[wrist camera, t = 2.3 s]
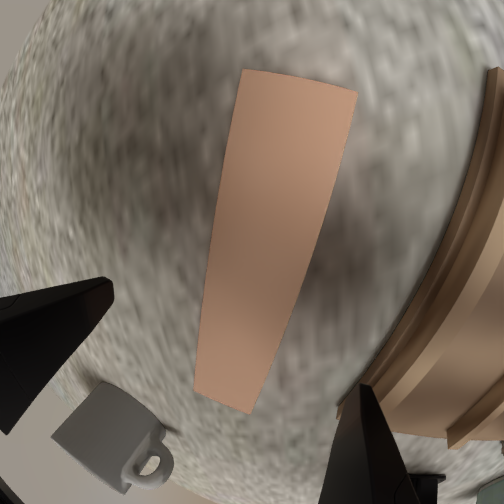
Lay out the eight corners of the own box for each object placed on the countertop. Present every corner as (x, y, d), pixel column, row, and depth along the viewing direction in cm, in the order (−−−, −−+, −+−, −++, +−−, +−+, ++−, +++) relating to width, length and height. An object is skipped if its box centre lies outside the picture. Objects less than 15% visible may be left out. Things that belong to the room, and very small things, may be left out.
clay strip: (265, 379, 17) (250, 414, 14) (214, 358, 17) (193, 390, 15) (355, 104, 9) (358, 92, 7) (268, 83, 10) (242, 68, 7)
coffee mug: (110, 412, 30) (71, 458, 21) (89, 369, 26) (36, 422, 17) (195, 457, 27) (159, 516, 18) (190, 424, 22) (139, 502, 14)
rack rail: (364, 416, 14) (362, 437, 12) (350, 413, 14) (347, 434, 12) (522, 106, 5) (543, 105, 4) (505, 93, 5) (525, 89, 4)
